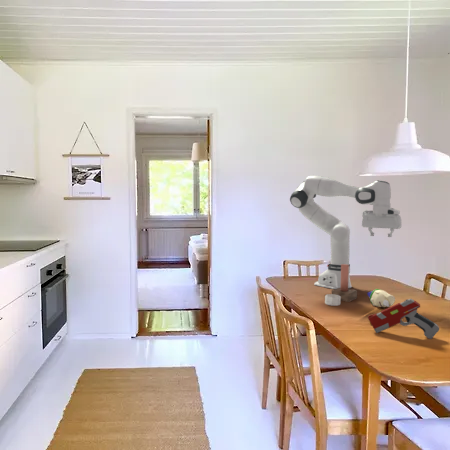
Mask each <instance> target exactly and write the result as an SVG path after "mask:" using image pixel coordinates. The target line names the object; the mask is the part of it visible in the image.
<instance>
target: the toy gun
mask: <svg viewBox="0 0 450 450" xmlns="http://www.w3.org/2000/svg"><path fill="white" fill-rule="evenodd" d="M419 308H421V304H420V303H419V302H418V301H416V300H414V299H412V298H408V299H405V300H404V301H402V302H398V303H396V304H393V305H392V306H389V307H387V308H385V309H383V310H381V311H380V312H377V313H374V314H372V313H371V314H370V315H368V316H367V319H368V323H369V325H370V326H371V327H372V328H373V330H374V332H375V333H376V334H378V333H380V332H383V331H385V330H388V329H390V328H393V327H395V326H397V325H401V326H403V327H407V326H409V325H415V326H416V327H418V328H419V329H420V330H422V332H423V335H424V337H426V338H427V339H429V340H432V339H433V338H434V336H435V335H436V334H437V333H438V332H439V330H440V326H439V325H438V324H437V323H435V322H434V321H432V320H431V319H429V318H427V317H426V316H424V315H422V314H420V313H418V309H419ZM403 318H405V320H406V321H403Z"/></svg>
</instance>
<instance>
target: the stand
mask: <svg viewBox="0 0 450 450" xmlns="http://www.w3.org/2000/svg"><path fill="white" fill-rule="evenodd" d="M331 294H335V295H339V296H341V302H346V303H347V302H348V303H350V302H352V301H354V300H356V299H357V298H358V290H357V289H353V288H352V289H351V288H348V291H341V290H340V288H337V289H332V290H331Z"/></svg>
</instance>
